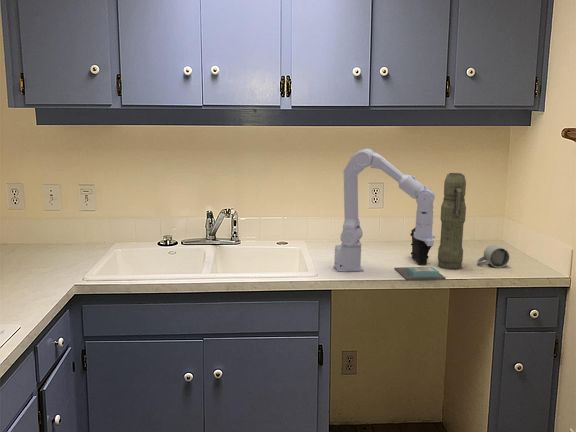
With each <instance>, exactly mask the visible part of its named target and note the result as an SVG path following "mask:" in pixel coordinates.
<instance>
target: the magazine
mask: <svg viewBox="0 0 576 432" xmlns="http://www.w3.org/2000/svg"><path fill="white" fill-rule="evenodd" d="M415 228H416V226H415V227H414V228H413V229H411V233H410V237H411V243H410V246H411V252H410V255H411V258H412V259H413V261H415V263H417V264H418V265H419V266H427V264H428V263H427V262H428V259H429V255H427V258H426V261H425V262H419V260H418V255H417V250H416V247H415V244H414V241H418V239H415V238H414V232H415Z"/></svg>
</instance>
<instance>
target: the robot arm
mask: <svg viewBox="0 0 576 432" xmlns="http://www.w3.org/2000/svg"><path fill="white" fill-rule="evenodd" d="M368 167H370V169H378V170H381V171H382V172H383V173H385V174H386V175H388V176H389V177H390V178H392V179H393V180H394V181H395V182H397V183H398V188H399V189H400V190H402V191H403V192H405V194H407V196H409V197H410V198H412V199H414V200H415V201H416V205H417V207H416V208H417V209H416V212H415V214H416V215H415V227H416V228H415V227H414V228H415V232H414V238H415V239H418V241H414V244H415V247H416V250H417V255H418V260H419V262H425V261H426V258H427V256H429V251H430V250H431V248H432V247H434V244H435V243H434V240H433V239H435V238H436V236H435V235H433V224H434V221H433V220H434V201H435V192H434V191H433V190H432V189H431V188H429V187H428V186H427V185H426V184H422V183H421V182H420V181H418V180H417V179H416V178H417V177H416V176H415V175H411V174H404V173H402V172H401V171H400V170H399V169H398V168H396V167H395V166H394V165H393V163H391V162H389V160H387V159H385V158H384V157H383V156H382V155H380V154H379V153H378V152H375V151H374V150H373V149H371V148H367V147H366V148H363V149H360V150H358V151H356V152H355V153H353V154H352V155H351V157H350V160H348V162H347V164H346V165H345V167H344V169H343V202H344V203H343V206H344V207H343V208H344V211H343V212H344V221H343V224H342V231H341V233H340V236H339V237H340V242H341V244H338V245H335V247H334V263H333V266H334V268H335V269H336V270H337V272H364V271H365V270H364V268H363V267H362V265H361V261H362V260H361V259H362V258H361V257H362V242H361V241H360V240H361V239H362V237H363V230H362V228H361V223H360V220H359V186H358V185H359V183H358V182H359V181H358V176H359V175H360V174H361V173H362V172H363V171H364V169H367V168H368Z"/></svg>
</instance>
